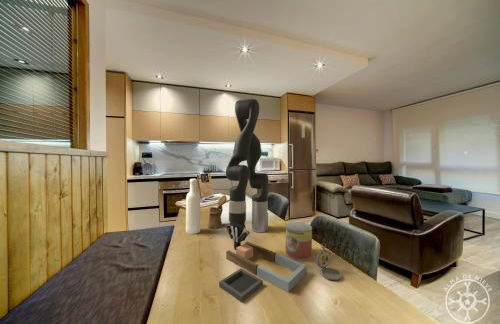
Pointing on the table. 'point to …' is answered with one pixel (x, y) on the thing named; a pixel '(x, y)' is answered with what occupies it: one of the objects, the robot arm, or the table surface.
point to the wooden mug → (216, 214)
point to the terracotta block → (245, 251)
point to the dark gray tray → (241, 284)
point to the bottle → (193, 209)
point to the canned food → (298, 240)
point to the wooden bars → (247, 263)
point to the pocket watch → (327, 272)
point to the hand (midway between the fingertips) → (237, 249)
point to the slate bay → (279, 280)
